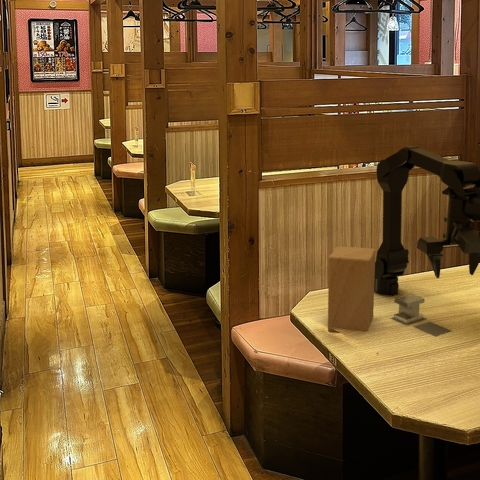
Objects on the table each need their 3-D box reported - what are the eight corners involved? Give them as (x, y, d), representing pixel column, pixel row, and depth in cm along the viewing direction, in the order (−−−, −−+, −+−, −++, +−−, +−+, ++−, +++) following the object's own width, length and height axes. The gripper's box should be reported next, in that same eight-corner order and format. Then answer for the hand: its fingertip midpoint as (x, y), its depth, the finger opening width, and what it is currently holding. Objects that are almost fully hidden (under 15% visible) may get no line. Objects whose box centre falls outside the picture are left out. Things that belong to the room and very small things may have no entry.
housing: (393, 318, 171) (394, 298, 170) (410, 313, 174) (411, 293, 173) (406, 324, 167) (407, 303, 166) (423, 318, 170) (424, 298, 169)
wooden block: (373, 321, 173) (375, 248, 168) (367, 337, 164) (369, 259, 159) (335, 317, 176) (336, 245, 171) (327, 332, 167) (328, 256, 162)
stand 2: (412, 332, 166) (413, 326, 166) (429, 326, 169) (429, 321, 169) (435, 342, 160) (435, 336, 160) (451, 336, 163) (452, 330, 163)
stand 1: (389, 323, 172) (390, 318, 171) (410, 317, 175) (410, 312, 175) (406, 331, 167) (406, 325, 167) (426, 324, 171) (427, 318, 170)
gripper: (440, 226, 151) (435, 290, 156) (514, 221, 155) (507, 283, 159) (417, 214, 162) (414, 275, 166) (487, 209, 165) (481, 269, 170)
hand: (454, 276), depth 165 cm, fingers open, 9 cm apart
